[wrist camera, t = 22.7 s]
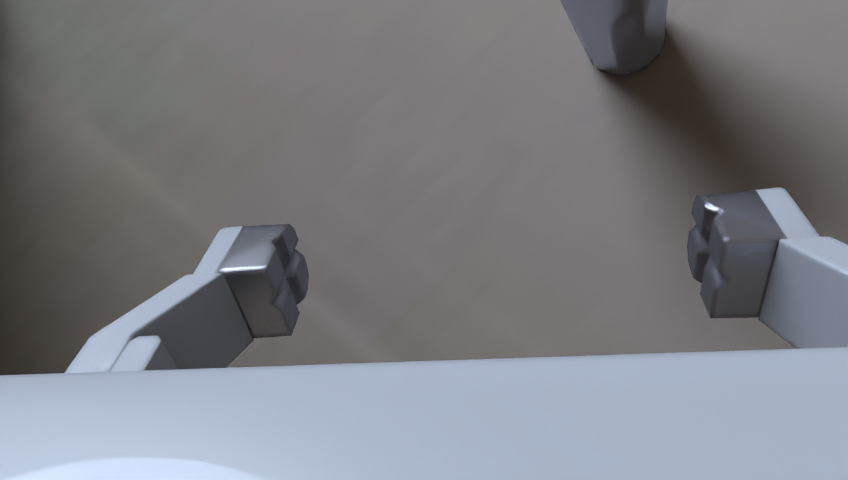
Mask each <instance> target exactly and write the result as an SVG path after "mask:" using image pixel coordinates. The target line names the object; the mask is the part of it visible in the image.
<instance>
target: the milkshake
mask: <svg viewBox="0 0 848 480" xmlns="http://www.w3.org/2000/svg"><path fill="white" fill-rule="evenodd" d="M560 1H561V3H562V5H563V7H564V9H565V11H566V14H567V16H568V18H569V20H570V22H571V24H572V26H573V28H574V30H575V32H576V34H577V36H578V38H579V40H580V42H581V44H582V46H583V48H584V50H585V52H586V53H587V54H588V56H589V57H590V59H591V60H592V62H593V63H594V65H595V66H596V68H597V69H599V70H603V71H607V72H610V73H614V74H617V75H623V74H626V73H629V72H633V71H636V70H639V69H643V68H645V67H646V66H647V65H648V64H649V63H650V62H651V61H652V60H653V58H654V57H655V56H656V55H657V54H658V53H659V52H660V51H661V50H662V48H663V43H664V33H665V24H666V15H667V4H668V0H560Z"/></svg>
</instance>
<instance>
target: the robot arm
mask: <svg viewBox="0 0 848 480" xmlns="http://www.w3.org/2000/svg"><path fill="white" fill-rule="evenodd" d="M692 215H693V218H694V220H695V222H696V225H695V226H694V227H693V228H692V229H691V230H690V231H689V235H688V244H687V250H688V262H689V266H690V270H691V273H692V275H693V278H694V279H696V280H697V281H699V282H701V283H702V286H701V292H700V295H701V297H702V299H703V302H704V304H705V306H706V309H707V311H708V314H709V316H710V318H748V317H759V320H760V321H761V322H763V323H764V324H765V325H767V326H768V327H769V328H770V329H772V330H773V331H774V332H776V333H777V334H778V335H779V336H781V337H782V338H783V339H785V340H786V341H787V342H788V343H790V344H791V345H792V346H794V347H795V348H796V349H773V350H742V351H713V352H683V353H653V354H624V355H594V356H564V357H535V358H505V359H475V360H444V361H414V362H384V363H354V364H324V365H294V366H264V367H234V368H226V367H227V366H228V365H229V364H230V363H231V362H232V361H233V360H234V359H235V358H236V357H237V356H238V355H239V354H240V353H241V352H242V351H243V350H244V349H245V348H246V347H247V346H248V345H249V344H250V343H251V342H252V341H253V338H263V337H278V336H291V335H292V333H293V330H294V327H295V324H296V321H297V319H298V316H299V310H298V307H297V304H298V303H299V302H301V301H302V300H303V299H304V298H305V296H306V293H307V290H308V278H309V275H308V269H307V264H306V261H305V258H304V256H303V255H302V254H301V253H299V252H298V251H297V250H296V249H295V247H296V245H297V242H298V237H297V235H296V232H295V229H294V227H292V226H291V225H290V224H279V225H259V226H246V227H244V226H240V227H227V228H223V229H221V230H219V232H218V234H217V235H216V237H215V239H214V240H213V242H212V244H211V245H210V247H209V249H208V250H207V252H206V253H205V255H204V257H203V258H202V260H201V262H200V263H199V265H198V267H197V268H196V270H195V272H194V273H193V275H185V276H184V277H182V278H181V279H179V280H178V281H176V282H175V283H173V284H171V285H170V286H168V287H167V288H165V289H164V290H162V291H161V292H159V293H157V294H156V295H154V296H153V297H151V298H150V299H148V300H147V301H145V302H143V303H142V304H140V305H139V306H137V307H136V308H134V309H133V310H131V311H129V312H128V313H126V314H125V315H123V316H122V317H120V318H119V319H117V320H115V321H114V322H112V323H111V324H109V325H108V326H106V327H105V328H103V329H102V330H100V331H98V332H97V333H95V334H94V335H92V336H91V337H90V338H89V339H88V340H87V342H86V343H85V345H84V346H83V347H82V349H81V350H80V352H79V353H78V354H77V356H76V357H75V359H74V360H73V361H72V363H71V364H70V366H69V367H68V368H67V370H66V371H65V373H55V374H25V375H0V480H848V245H847V244H845V243H843V242H841V241H838V240H836V239H834V238H832V237H821V236H820V235H819V234H818V232H817V231H816V230H815V228H814V227H813V226H812V224H811V223H810V222H809V220H808V219H807V218H806V216H805V215H804V214H803V212H802V211H801V210H800V208H799V207H798V205H797V204H796V203H795V201H794V200H793V199H792V197H791V196H790V195H789V193H788V192H787V191H786V189H783V188H781V187H777V188H768V189H758V190H752V191H742V192H730V193H719V194H707V195H696V197H695V200H694V202H693V208H692Z"/></svg>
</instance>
